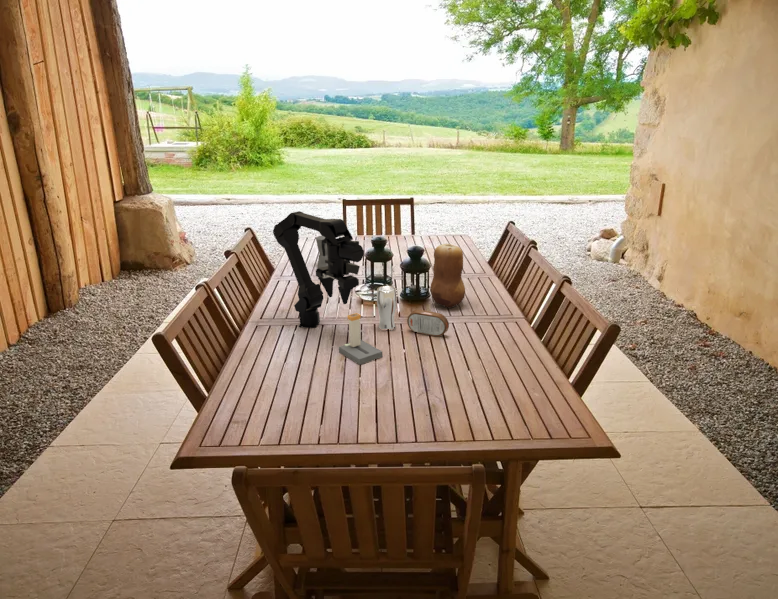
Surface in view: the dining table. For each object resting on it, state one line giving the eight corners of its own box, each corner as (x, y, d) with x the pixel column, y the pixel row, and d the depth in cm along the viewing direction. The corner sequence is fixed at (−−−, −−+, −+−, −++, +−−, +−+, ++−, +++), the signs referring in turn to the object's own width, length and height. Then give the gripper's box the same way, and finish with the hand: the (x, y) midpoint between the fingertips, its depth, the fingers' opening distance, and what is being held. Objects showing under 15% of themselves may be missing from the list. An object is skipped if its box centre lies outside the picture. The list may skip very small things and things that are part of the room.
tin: (448, 335, 204) (449, 313, 201) (445, 339, 201) (446, 316, 198) (409, 329, 210) (409, 307, 207) (406, 332, 207) (406, 310, 204)
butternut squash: (466, 301, 237) (468, 241, 228) (462, 312, 224) (464, 250, 216) (432, 298, 240) (433, 239, 231) (427, 310, 227) (428, 248, 219)
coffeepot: (319, 263, 290) (317, 228, 283) (338, 263, 289) (336, 228, 283) (314, 272, 275) (312, 235, 269) (334, 272, 275) (332, 235, 269)
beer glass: (394, 332, 207) (394, 292, 202) (375, 330, 209) (374, 291, 204) (398, 324, 214) (397, 286, 209) (379, 323, 215) (378, 285, 210)
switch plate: (338, 352, 192) (338, 346, 191) (361, 345, 197) (361, 339, 197) (359, 364, 183) (359, 358, 182) (382, 357, 188) (382, 350, 188)
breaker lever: (348, 345, 191) (347, 315, 188) (357, 342, 194) (356, 312, 190) (352, 347, 190) (351, 317, 186) (361, 344, 192) (360, 315, 188)
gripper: (371, 258, 194) (372, 302, 199) (340, 247, 208) (342, 288, 213) (343, 264, 187) (345, 309, 193) (313, 252, 201) (316, 295, 207)
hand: (337, 300), depth 201 cm, fingers open, 9 cm apart
